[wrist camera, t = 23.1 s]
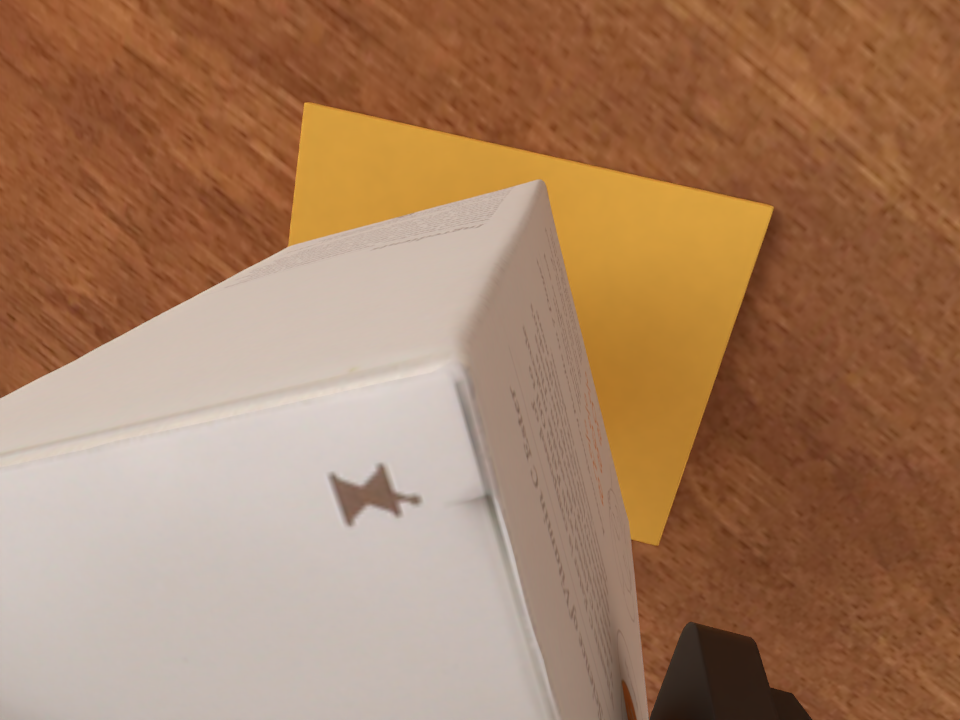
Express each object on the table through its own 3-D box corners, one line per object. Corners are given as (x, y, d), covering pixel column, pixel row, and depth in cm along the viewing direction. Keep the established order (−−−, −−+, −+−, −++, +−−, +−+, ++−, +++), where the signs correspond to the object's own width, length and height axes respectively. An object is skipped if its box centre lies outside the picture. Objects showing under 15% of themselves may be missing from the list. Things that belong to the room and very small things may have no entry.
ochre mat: (270, 441, 23) (265, 447, 22) (308, 101, 19) (303, 101, 19) (657, 539, 22) (658, 547, 21) (771, 204, 18) (774, 207, 18)
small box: (290, 241, 15) (-239, 487, 6) (550, 171, 14) (458, 333, 4) (401, 564, 18) (164, 1140, 8) (634, 528, 17) (695, 1156, 7)
